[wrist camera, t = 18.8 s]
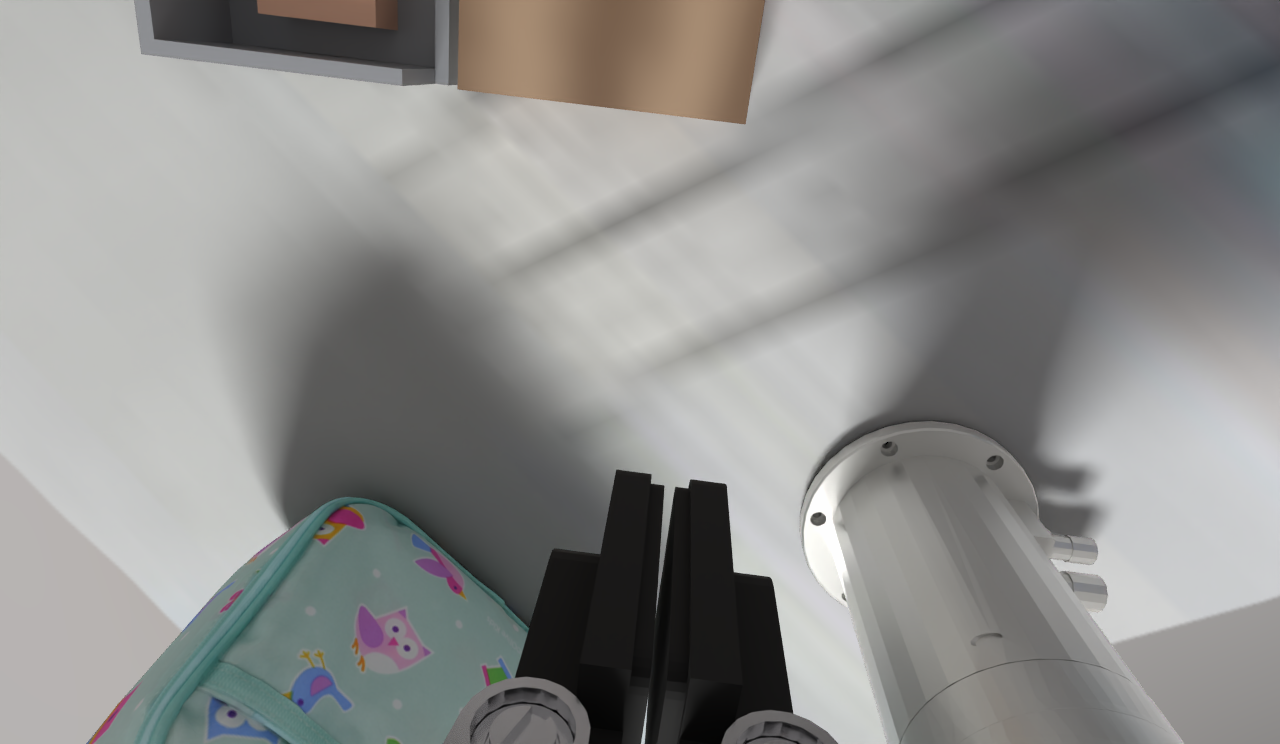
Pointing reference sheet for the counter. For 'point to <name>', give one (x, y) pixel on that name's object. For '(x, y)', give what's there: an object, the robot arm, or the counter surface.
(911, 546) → the robot arm
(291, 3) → the terracotta block
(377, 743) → the lunch box
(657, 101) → the tan wooden board
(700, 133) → the counter surface
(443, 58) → the box
